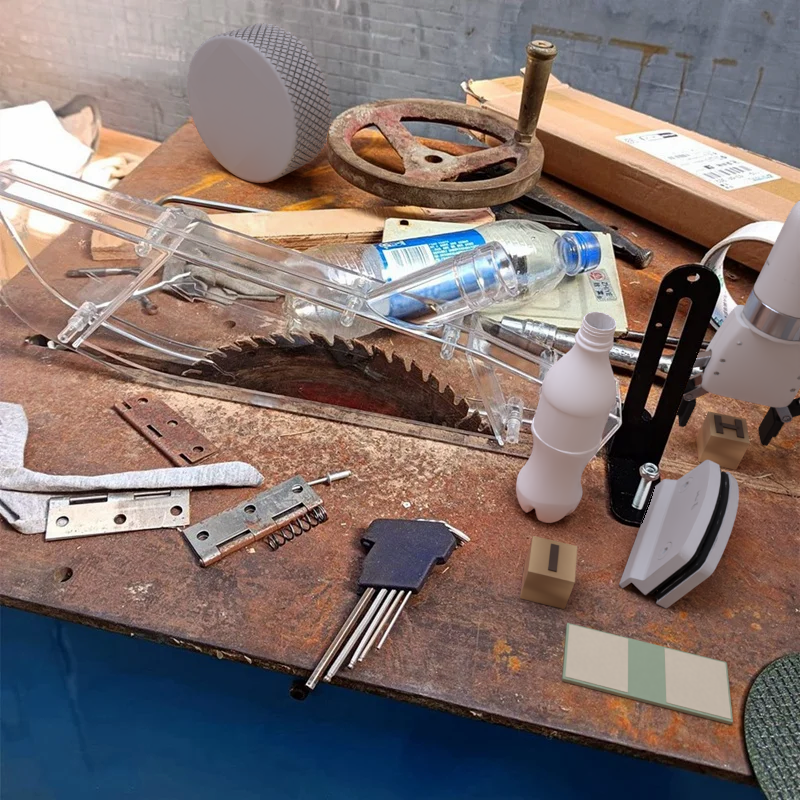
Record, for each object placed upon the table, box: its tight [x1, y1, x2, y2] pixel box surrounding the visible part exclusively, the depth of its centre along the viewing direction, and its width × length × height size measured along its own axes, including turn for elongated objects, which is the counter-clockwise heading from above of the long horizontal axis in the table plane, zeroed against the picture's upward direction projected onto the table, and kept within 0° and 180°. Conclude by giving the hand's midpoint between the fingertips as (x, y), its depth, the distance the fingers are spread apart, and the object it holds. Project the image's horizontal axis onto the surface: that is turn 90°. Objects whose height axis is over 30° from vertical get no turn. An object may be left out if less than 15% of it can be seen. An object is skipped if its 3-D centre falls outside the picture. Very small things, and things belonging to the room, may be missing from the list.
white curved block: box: [618, 460, 740, 609], centre depth 79 cm, size 17×5×10 cm, turn 153°
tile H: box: [695, 411, 751, 471], centre depth 92 cm, size 4×4×5 cm
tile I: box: [519, 535, 579, 610], centre depth 75 cm, size 4×4×5 cm
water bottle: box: [515, 311, 617, 524], centre depth 77 cm, size 7×7×25 cm
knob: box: [186, 22, 333, 184], centre depth 135 cm, size 25×10×25 cm, turn 58°
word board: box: [561, 622, 734, 725], centre depth 70 cm, size 15×6×1 cm, turn 77°
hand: (721, 428), depth 91 cm, fingers open, 9 cm apart
